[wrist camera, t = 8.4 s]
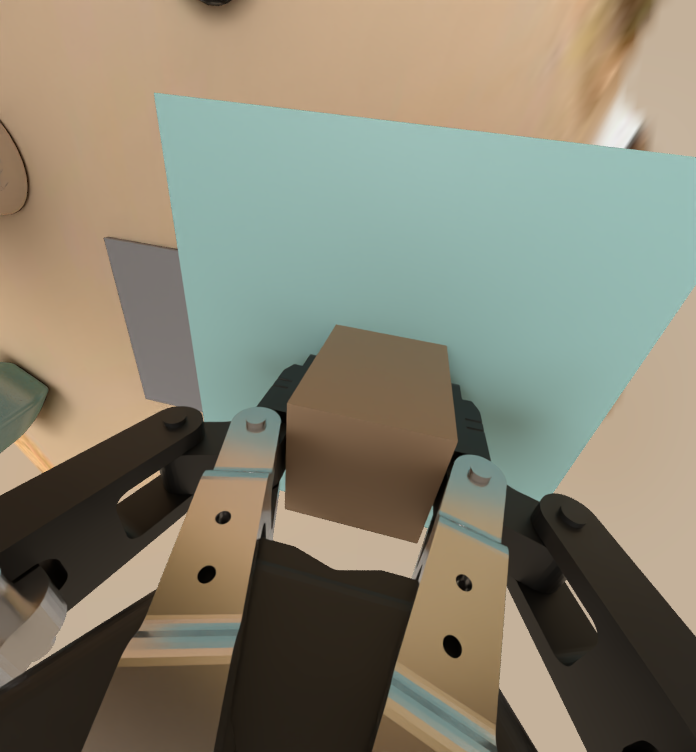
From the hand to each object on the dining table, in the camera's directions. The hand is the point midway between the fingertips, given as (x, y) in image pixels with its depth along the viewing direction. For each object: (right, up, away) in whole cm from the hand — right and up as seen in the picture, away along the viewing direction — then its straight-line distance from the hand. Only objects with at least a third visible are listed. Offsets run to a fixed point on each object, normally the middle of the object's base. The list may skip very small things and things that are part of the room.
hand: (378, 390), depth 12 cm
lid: (0, +1, +1) cm, 2 cm away
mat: (-15, +4, +22) cm, 27 cm away
